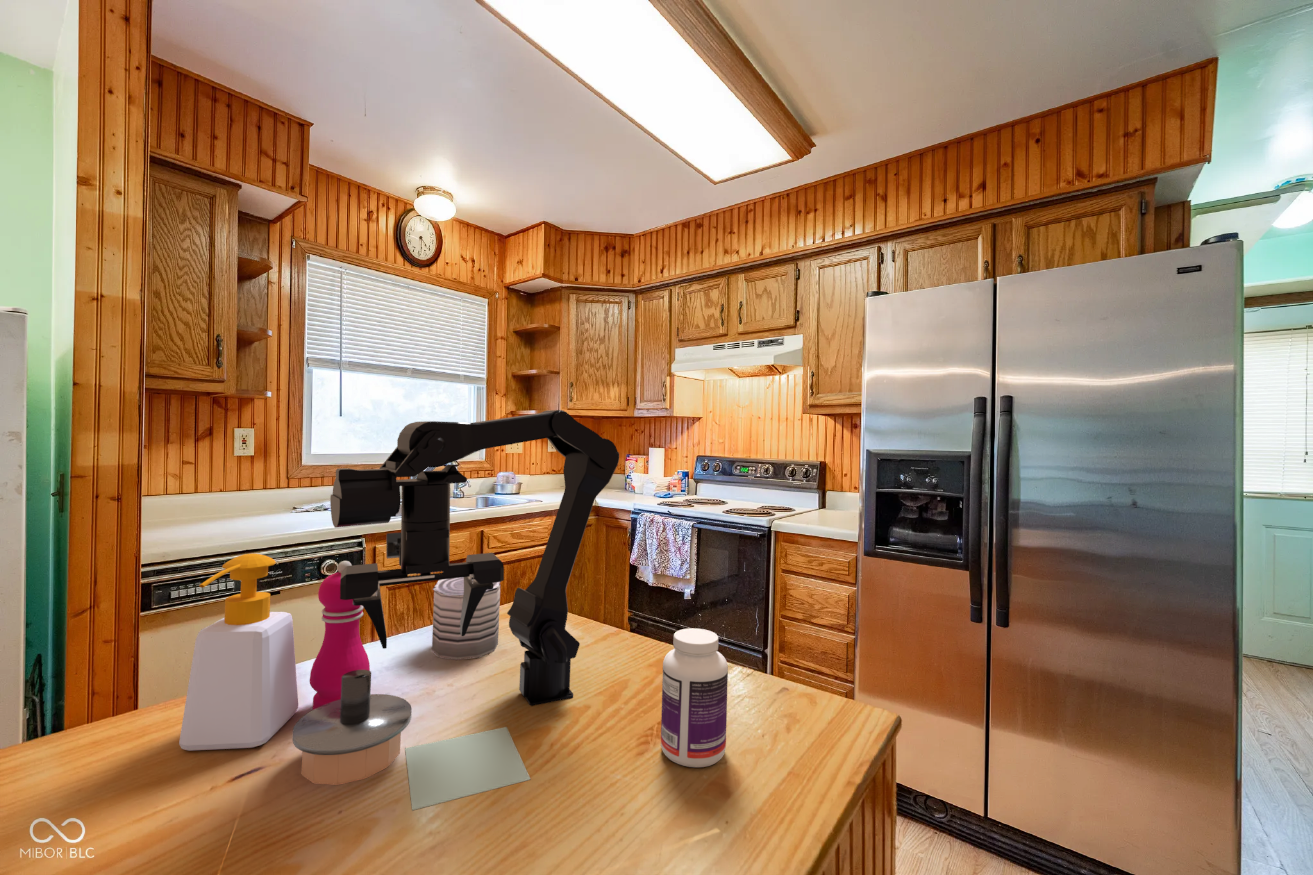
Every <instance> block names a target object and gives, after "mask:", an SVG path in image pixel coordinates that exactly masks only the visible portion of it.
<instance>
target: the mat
mask: <svg viewBox="0 0 1313 875" xmlns="http://www.w3.org/2000/svg"><path fill="white" fill-rule="evenodd" d="M404 750H405V751H404V752H405V759H406V766H407V768H406V769H407V776H408V784H409V785H408V786H409V796H410V803H411V811H412V812H413V811H416V810H420V809H425V808H429V807H431V806H436V805H440V804H443V803H447V802H450V801H451V802H452V801H454V800H458V799H463V798H466V797H469V796H473V795H478V794H483V793H485V792H489V791H494V790H496V789H500V788H505V787H508V786H512V785H515V784H519V783H523V782H528V781H531V777H530V775H529V773H528V771H527V769H526V766H525V763H524V761H523V759H522V757H521V755H520V752H519V751H518V749H517V747H516V744H515V743H514V740H513V738H512V736H511V733H510V731H509V729H508V727H507V726H504V727H498V728H495V729H490V730H486V731H485V730H484V731H481V732H475V733H472V734H466V735H462V736H461V735H460V736H457V737H453V738H447V739H444V740H443V739H442V740H437V741H433V742H428V743H424V744H417V745H414V746H409V747H405V748H404Z"/></svg>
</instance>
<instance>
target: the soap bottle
mask: <svg viewBox="0 0 1313 875" xmlns="http://www.w3.org/2000/svg"><path fill="white" fill-rule="evenodd" d="M276 563H277V562H276V560H275V559H273V557H270V556H268V555H264V554H260V553H255V552H254V553H245V554H241V555H238V556H235V557H233V558H232V559H230V560H228V561H226V562H225V563H224V564H222V569H223V570H221V571H219V572H218V573H217V572H216V573H215V574H214V575H212V576H211V577H209V578H207V579H206V580H205V581H203V582H202V583H200V584H198V586H199V587H200V588H205V587H207V586H208V585H210V584H212V583H213V582H214V581H215V580H217V579H219V578H221V577H222V576H224V575H226V574H228V573H229V579H230V580H232V581H240V593H237V594H233V595H231V596H230V595H229V596H227V597H226V598H225V599H224V617H223V618H220V619H219V620H217V621H214V622H213V623H212V624H209V625H207V626H206V627H205V626H204V627H203V628H201V629H200V630H199V631H198V634H197V636H196V637H195V643H194V649H193V654H192V661H191V666H190V667H191V668H190V673H189V681H188V685H187V692H186V699H185V703H184V704H185V705H184V712H183V717H182V723H181V730H180V734H179V735H180V736H179V742H178V745H179V746H180V748H181V749H182V750H185V751H206V750H207V751H208V750H225V749H226V750H227V749H228V750H230V749H247V748H248V749H249V748H255V747H258V746H262V745H263V744H266V743H268V741H269V740H270V739H271V738H273V736H274V735H275V734H276V733H278V732H279V730H280V729H281V728H282V727H283V726H284V725H285V724H286V723H288V721H290V719H291V718H292V717H294V715H295V714H296V712H297V710H298V709H299V696H298V695H299V694H298V681H297V667H296V666H297V664H296V651H295V650H296V649H295V638H294V637H295V634H294V621H293V616H292V614H291V613H289V612H286V611H271V593H270V592H266V591H257V584H258V583H257V582H258V579H262V578H265V577H267V576H269V567H271V566H274V565H275V564H276Z"/></svg>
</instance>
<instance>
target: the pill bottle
mask: <svg viewBox="0 0 1313 875" xmlns="http://www.w3.org/2000/svg"><path fill="white" fill-rule="evenodd" d="M672 641H673V642H672V643H673V644H672V645H673V649H671V650H669V652H667V653H666V655H665V656H664V659H663V661H662V688H661V719H660V721H661V723H660V726H661V727H660V747H661V750H662V752H663V754H664V755H665V757H666V758H668V760H670V761H672V762H673V763H675V764H677V765H679V766H683V767H688V768H704V767H710V766H712V765H715V764H716V763H718V762H719V761H720V760H721V759H722V758H723V756H724V754H725V753H726V748H727V721H728V720H727V718H728V715H727V714H728V713H727V712H728V680H729V679H728V678H729V676H728V674H729V670H728V669H729V666H728V662H727V659H726V658H725V656H724V655H723V654H722V653H721V652H719V651H718V650H719V635H717V633H716V632H713V631H711V630H707V629H704V628H696V627H695V628H692V627H689V628H683V629H679V630H677V631H675V633H673V640H672Z"/></svg>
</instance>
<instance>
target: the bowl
mask: <svg viewBox="0 0 1313 875" xmlns="http://www.w3.org/2000/svg"><path fill="white" fill-rule="evenodd" d="M401 734H402V732H401V733H399V734H398V735H396V736H395V737H393V738H392V739H390V740H388V741H386V742H384V743H381V744H379V745H377V746H374V747H371V748H368V749H365V750H361V751H357V752H352V753H347V754H339V755H316V754H310V753H306V752H303V751H301V752H302V753H301V772H300V773H301V776H302V777H304V778H305V779H307V780H308V781H309V782H310V783H313V784H314V785H315V784H316V785H317V784H318V785H319V784H320V785H334V786H335V785H336V786H338V785H343V784H347V783H352V782H356V781H361V780H364V779H367V778H369V777H372V776H373V775H375V774H377V773H379V772H381V771H382V770H385V769H386V768H389V766H391V764H393V762H394V761H395V760H396V759H397V758H398V757H399V756H400V754H401V741H402V740H401V739H402V737H401V736H402V735H401Z"/></svg>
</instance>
